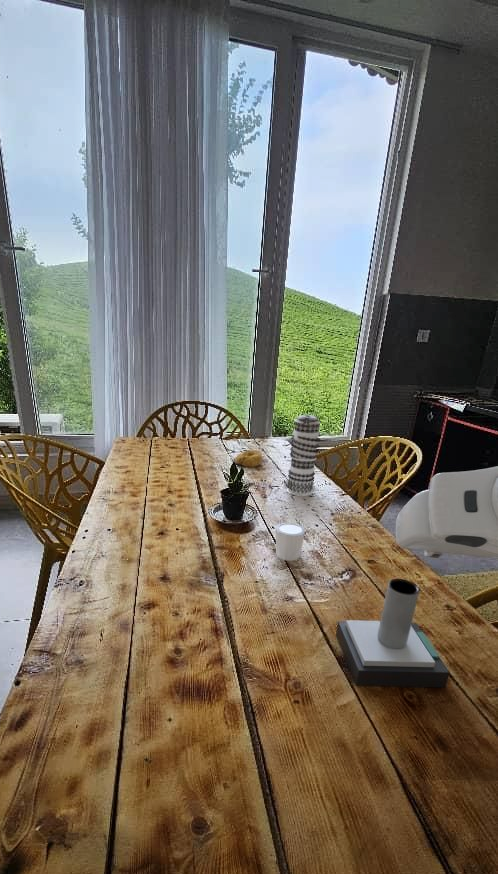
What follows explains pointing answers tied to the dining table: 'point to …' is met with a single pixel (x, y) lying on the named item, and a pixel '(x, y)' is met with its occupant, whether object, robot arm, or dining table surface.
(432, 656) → the scale
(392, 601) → the grey hollow tube
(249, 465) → the bagel
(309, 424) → the banded tower model
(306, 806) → the dining table surface
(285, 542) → the white short cylinder
